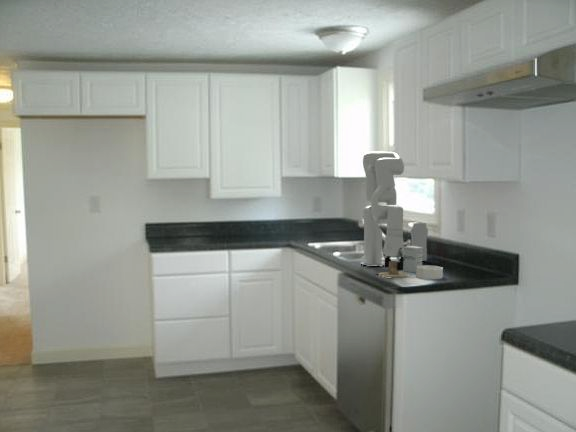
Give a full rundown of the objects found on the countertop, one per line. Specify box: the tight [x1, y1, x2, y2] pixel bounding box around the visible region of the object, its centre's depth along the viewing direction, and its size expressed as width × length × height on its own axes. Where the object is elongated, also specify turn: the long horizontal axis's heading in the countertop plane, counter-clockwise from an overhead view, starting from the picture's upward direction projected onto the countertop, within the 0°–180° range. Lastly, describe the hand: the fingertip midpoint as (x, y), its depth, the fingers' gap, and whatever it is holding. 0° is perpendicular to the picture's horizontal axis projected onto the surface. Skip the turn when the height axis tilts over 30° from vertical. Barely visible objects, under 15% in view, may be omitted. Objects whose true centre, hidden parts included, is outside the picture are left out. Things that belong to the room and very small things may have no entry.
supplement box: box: [402, 245, 423, 273], centre depth 300 cm, size 7×7×13 cm
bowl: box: [415, 264, 444, 280], centre depth 283 cm, size 12×12×5 cm
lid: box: [378, 260, 409, 279], centre depth 284 cm, size 14×14×7 cm
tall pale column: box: [410, 221, 429, 262], centre depth 335 cm, size 11×4×22 cm, turn 106°
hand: (393, 268), depth 284 cm, fingers open, 9 cm apart
